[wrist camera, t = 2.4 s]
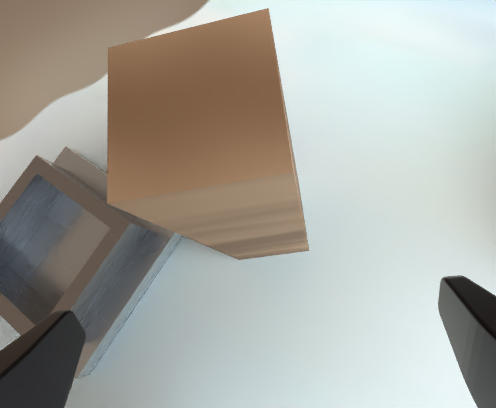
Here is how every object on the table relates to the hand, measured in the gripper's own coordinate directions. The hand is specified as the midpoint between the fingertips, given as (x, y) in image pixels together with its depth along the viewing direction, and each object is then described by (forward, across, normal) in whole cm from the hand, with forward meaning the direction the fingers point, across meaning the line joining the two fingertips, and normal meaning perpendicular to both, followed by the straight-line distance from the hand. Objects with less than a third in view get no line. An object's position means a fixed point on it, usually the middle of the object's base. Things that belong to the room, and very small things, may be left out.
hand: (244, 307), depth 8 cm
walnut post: (+11, 0, +4) cm, 12 cm away
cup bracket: (+10, +12, +5) cm, 17 cm away
